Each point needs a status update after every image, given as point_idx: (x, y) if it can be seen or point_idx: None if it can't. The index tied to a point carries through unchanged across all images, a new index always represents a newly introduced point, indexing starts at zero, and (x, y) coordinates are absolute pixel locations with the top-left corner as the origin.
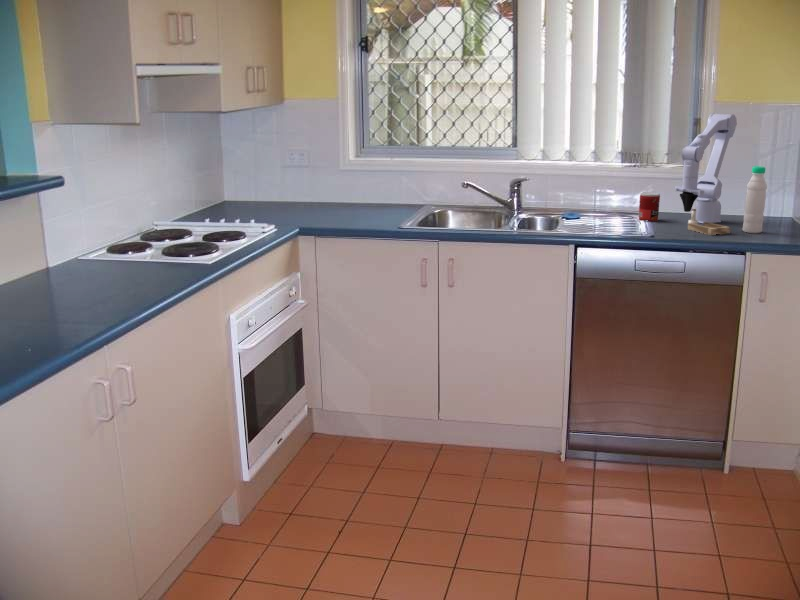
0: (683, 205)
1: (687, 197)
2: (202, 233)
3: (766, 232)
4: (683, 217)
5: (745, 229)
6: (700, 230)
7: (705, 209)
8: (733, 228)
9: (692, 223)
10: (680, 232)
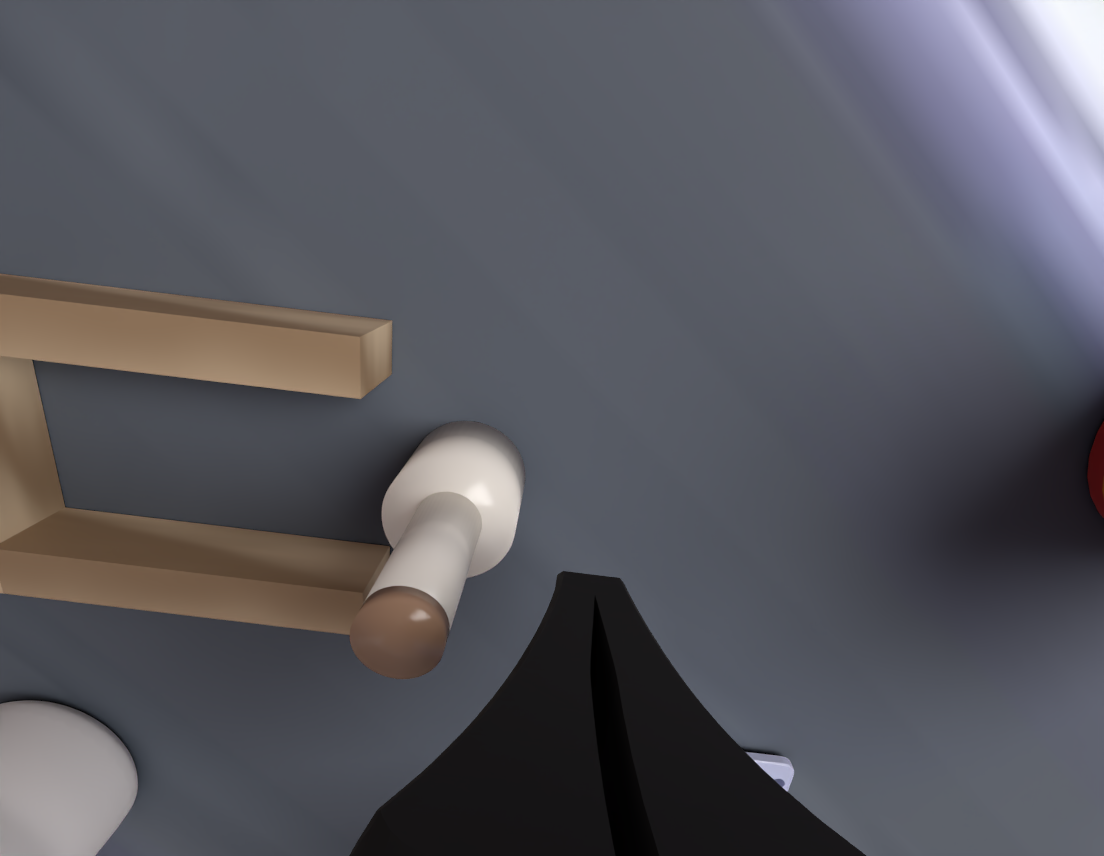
0: (652, 642)
1: (406, 794)
2: None
3: None
4: (967, 843)
5: (12, 718)
6: (124, 296)
7: None
8: (276, 767)
9: (412, 458)
10: (271, 59)
